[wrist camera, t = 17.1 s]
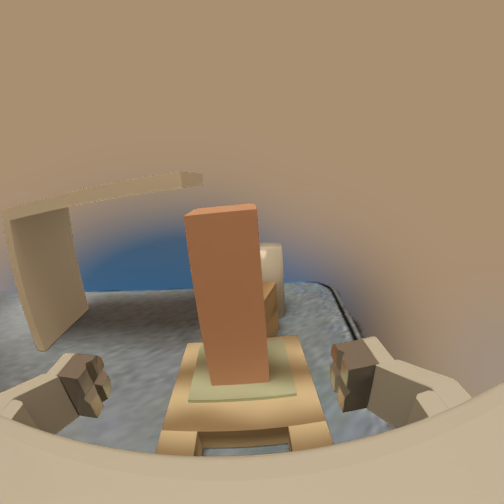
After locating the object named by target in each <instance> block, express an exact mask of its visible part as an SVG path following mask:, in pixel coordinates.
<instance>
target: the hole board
mask: <svg viewBox="0 0 504 504" xmlns="http://www.w3.org/2000/svg"><path fill="white" fill-rule="evenodd" d="M267 350H268V364H269V379H270V382H264V383H252V384H238V385H219V386H212V385H211V380H210V376H209V371H208V366H207V361H206V356H205V351H204V345H203V342H202V343H188V344H187V347H186V350H185V353H184V356H183V360H182V363H181V366H180V369H179V373H178V376H177V379H176V383H175V386H174V389H173V393H172V396H171V400H170V403H169V406H168V410H167V413H166V417H165V420H164V424H163V428H162V431H161V435H160V438H159V442H158V446H157V449H156V453H155V454H164V455H178V456H202V451H203V448H239V447H256V446H268V445H278V444H287V443H288V444H289V450H290V452H293V451H300V450H307V449H313V448H319V447H325V446H330V445H333V442H332V439H331V436H330V432H329V429H328V426H327V423H326V420H325V417H324V414H323V411H322V408H321V405H320V402H319V399H318V396H317V392H316V389H315V386H314V383H313V380H312V377H311V374H310V371H309V368H308V365H307V362H306V359H305V356H304V353H303V350H302V347H301V345H300V342H299V339H298V336H297V335H290V336H281V337H271V338H267Z"/></svg>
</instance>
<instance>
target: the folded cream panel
mask: <svg viewBox="0 0 504 504" xmlns="http://www.w3.org/2000/svg"><path fill="white" fill-rule="evenodd" d="M202 185H203V176H202V174H196V173H188V172H181V171H180V172H173V173H166V174H159V175H152V176H146V177H140V178H135V179H129V180H123V181H118V182H112V183H107V184H102V185H97V186H93V187H88V188H83V189H79V190H74V191H70V192H66V193H62V194H57V195H53V196H49V197H45V198H42V199H38V200H34V201H31V202H27V203H23V204H20V205H16V206H13V207H10V208H7V209H3V210H1V212H2V219H3V226H4V233H5V239H6V244H7V249H8V254H9V259H10V263H11V268H12V271H13V276H14V280H15V283H16V287H17V291H18V294H19V298H20V301H21V304H22V308H23V311H24V314H25V317H26V320H27V323H28V325H29V328H30V331H31V334H32V336H33V339H34V341H35V344H36V347H37V349H38V350H39V351H46V350H47V349H48V348H49V347H50V346H51V345H52V344H53V343H54V342H55V341H56V340H57V339H58V338H59V337H60V336H61V335H62V334H63V333H64V332H65V331H66V330H67V329H68V328H69V327H70V326H71V325H72V324H74V323H75V322H76V321H77V320H78V319H79V318H80V317H81V316H82V315H83V314H84V313H85V312H86V311H87V310H88V309H89V307H88V303H87V299H86V296H85V292H84V288H83V284H82V280H81V276H80V271H79V266H78V262H77V257H76V252H75V247H74V242H73V235H72V229H71V223H70V216H69V208H68V207H70V206H75V205H80V204H86V203H91V202H96V201H101V200H106V199H112V198H119V197H125V196H131V195H137V194H144V193H150V192H157V191H165V190H172V189H180V188H187V187H195V186H202Z"/></svg>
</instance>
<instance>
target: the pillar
mask: <svg viewBox="0 0 504 504" xmlns="http://www.w3.org/2000/svg"><path fill="white" fill-rule="evenodd" d="M184 222H185V230H186V238H187V245H188V253H189V260H190V267H191V274H192V281H193V288H194V294H195V300H196V306H197V312H198V318H199V324H200V329H201V335H202V340H203V345H204V351H205V356H206V361H207V366H208V371H209V376H210V380H211V385H212V386H219V385H238V384H252V383H264V382H270V379H269V364H268V350H267V336H266V322H265V308H264V295H263V282H262V269H261V256H260V243H259V232H258V219H257V208H256V206H255V204H254V203H253V204H241V205H230V206H219V207H210V208H200V209H195V210H193V211H191V212H190V213H188V214H186V215H185V216H184Z"/></svg>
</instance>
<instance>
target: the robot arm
mask: <svg viewBox="0 0 504 504" xmlns="http://www.w3.org/2000/svg"><path fill="white" fill-rule="evenodd" d="M331 356H332V358H333V360H334V362H333V363H332V364H331V365H330V378H331V384H332V387H333V390H334V391H335V392H337V393H338V398H337V400H338V402H339V405H340V407H341V410H342V412H349V411H354V410H359V409H364V408H367V409H368V410H370V411H371V412H373V413H374V414H375V415H377V416H379V417H380V418H382V419H383V420H385V421H386V422H388V423H389V424H391V425H392V426H394V427H395V428H396V429H393V430H390V431H387V432H383V433H380V434H376V435H373V436H369V437H365V438H361V439H357V440H353V441H349V442H344V443H340V444H335V445H330V446H325V447H319V448H313V449H307V450H300V451H293V452H285V453H276V454H265V455H250V456H222V457H205V456H178V455H164V454H153V453H144V452H136V451H129V450H122V449H116V448H110V447H105V446H100V445H95V444H90V443H86V442H82V441H77V440H73V439H70V438H66V437H62V436H59V435H55V434H56V433H58V432H59V431H60V430H62V429H63V428H64V427H66V426H67V425H68V424H70V423H71V422H72V421H74V420H75V419H76V418H78V417H79V415H80V416H86V417H93V418H98V416H99V414H100V412H101V411H102V409H103V407H104V406H103V403H102V402H103V401H105V400H107V399H108V397H109V395H110V393H111V382H110V379H109V376H108V375H107V374H106V373H105V372H104V371H103V368H104V363H103V361H102V359H101V358H100V357H99V356H97V355H86V354H76V353H64V354H63V356H62V357H61V358H60V359H59V360H58V361H57V362H56V363H55V364H54V366H53V367H52V368H51V369H50V370H49V371H48V372H47V374H42V375H40V376H37V377H35V378H33V379H31V380H28V381H26V382H24V383H22V384H19V385H17V386H15V387H13V388H10V389H8V390H6V391H3V392H1V393H0V504H504V381H503V382H501V383H500V384H498V385H496V386H494V387H493V388H491V389H489V390H487V391H485V392H483V393H481V394H479V395H477V396H475V397H474V398H471V397H470V395H468V393H467V392H466V391H465V390H464V389H463V388H462V387H461V386H460V384H459V383H458V382H457V381H456V380H455V379H452V378H449V377H446V376H443V375H440V374H437V373H434V372H432V371H429V370H426V369H423V368H420V367H417V366H415V365H412V364H409V363H406V362H403V361H400V360H394V359H393V358H392V357H391V355H390V354H389V353H388V352H387V350H386V349H385V348H384V347H383V345H382V344H381V343H380V341H379V340H378V339H377V338H376V337H374V336H373V337H368V338H364V339H360V340H355V341H350V342H345V343H339V344H334V345H332V350H331Z"/></svg>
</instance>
